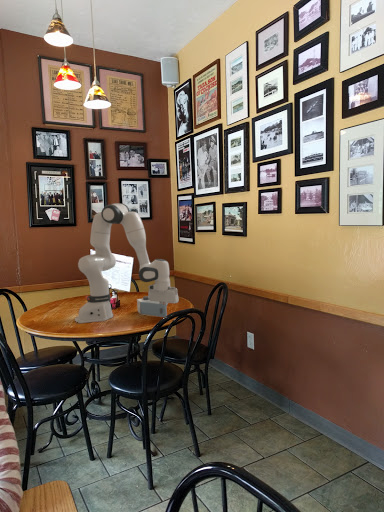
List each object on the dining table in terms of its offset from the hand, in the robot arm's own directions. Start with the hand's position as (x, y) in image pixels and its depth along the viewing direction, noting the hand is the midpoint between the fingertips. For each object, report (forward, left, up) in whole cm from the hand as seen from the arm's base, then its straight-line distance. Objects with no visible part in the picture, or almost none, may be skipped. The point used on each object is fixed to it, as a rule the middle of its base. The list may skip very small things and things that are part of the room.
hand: (164, 309), depth 211 cm
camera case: (-4, +18, -5) cm, 19 cm away
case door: (-6, +5, -4) cm, 9 cm away
